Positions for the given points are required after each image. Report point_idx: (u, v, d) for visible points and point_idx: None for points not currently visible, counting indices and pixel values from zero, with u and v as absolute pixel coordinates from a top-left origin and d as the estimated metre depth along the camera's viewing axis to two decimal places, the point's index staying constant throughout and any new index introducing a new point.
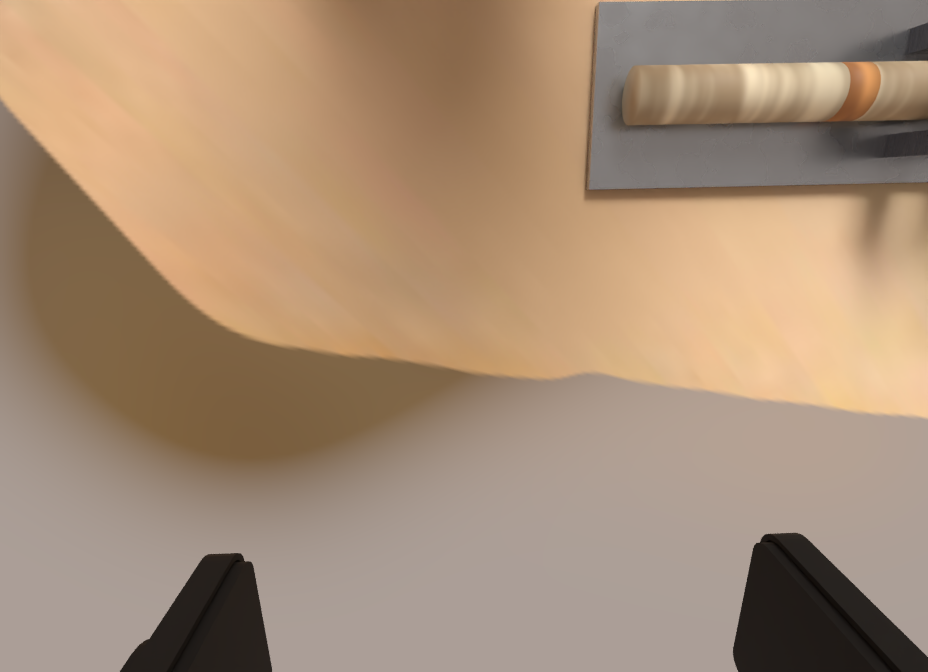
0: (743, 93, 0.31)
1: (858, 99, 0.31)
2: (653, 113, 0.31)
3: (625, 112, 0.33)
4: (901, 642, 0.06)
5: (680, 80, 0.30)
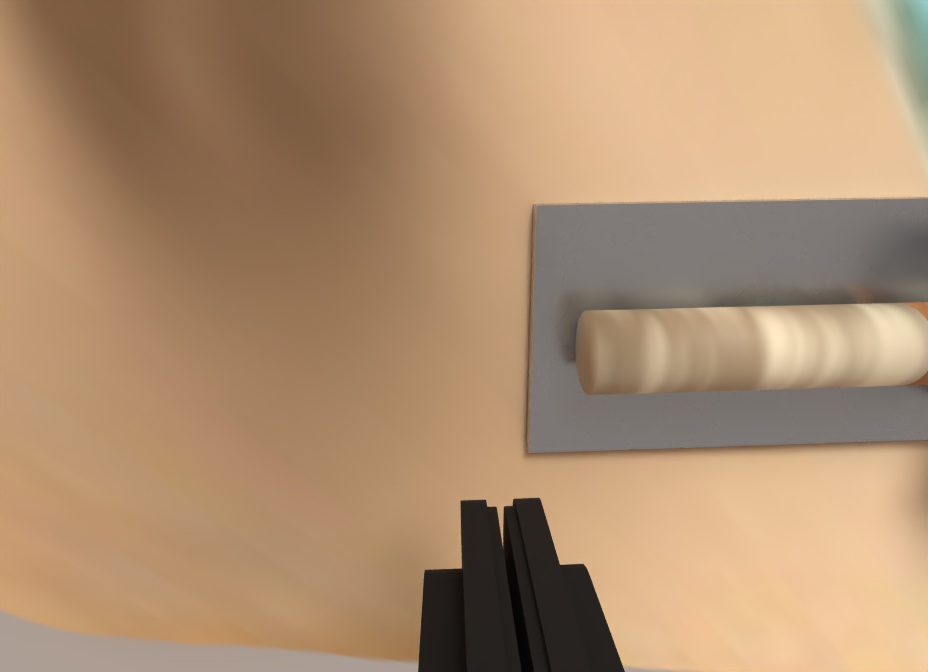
0: (762, 370, 0.19)
1: None
2: (619, 391, 0.20)
3: (579, 363, 0.22)
4: (556, 582, 0.07)
5: (662, 352, 0.19)
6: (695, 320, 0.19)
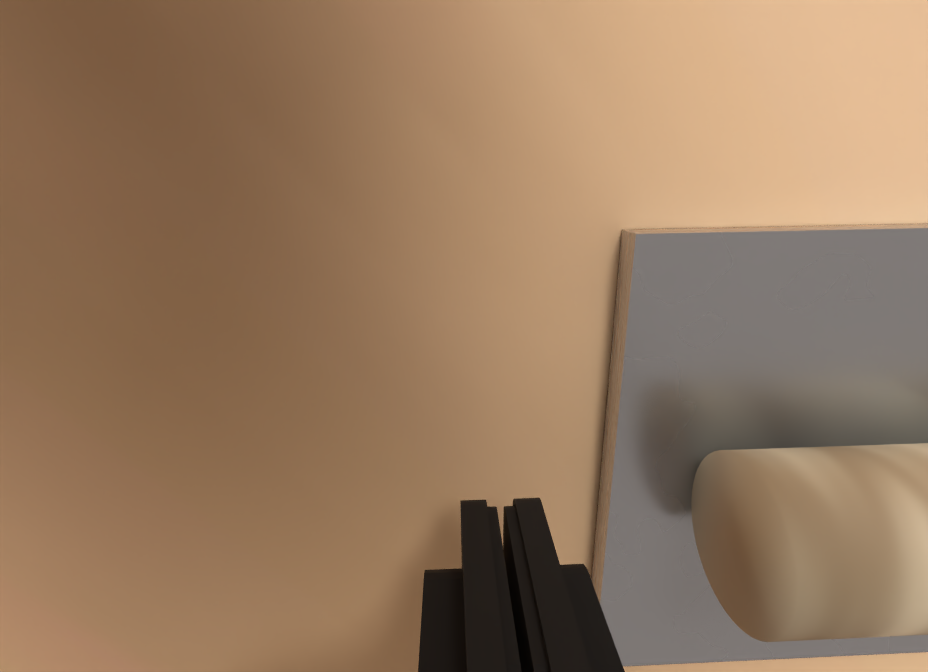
0: None
1: None
2: None
3: (705, 539, 0.11)
4: (556, 581, 0.07)
5: None
6: None
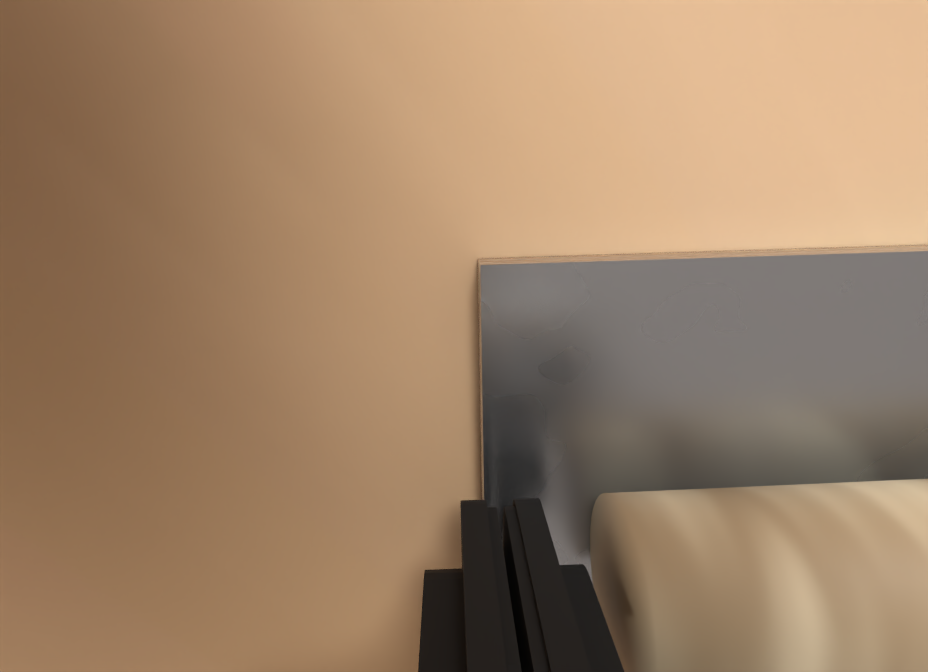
0: None
1: None
2: None
3: (599, 589, 0.10)
4: (556, 582, 0.07)
5: (814, 643, 0.07)
6: (884, 546, 0.08)
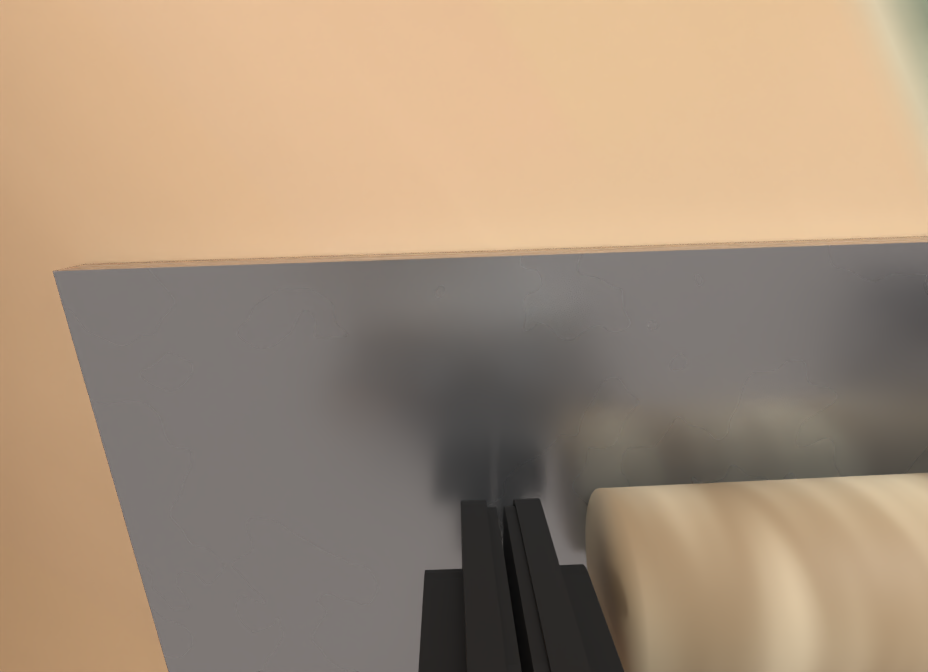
0: None
1: None
2: None
3: (594, 582, 0.10)
4: (556, 581, 0.07)
5: (804, 635, 0.08)
6: (874, 540, 0.08)
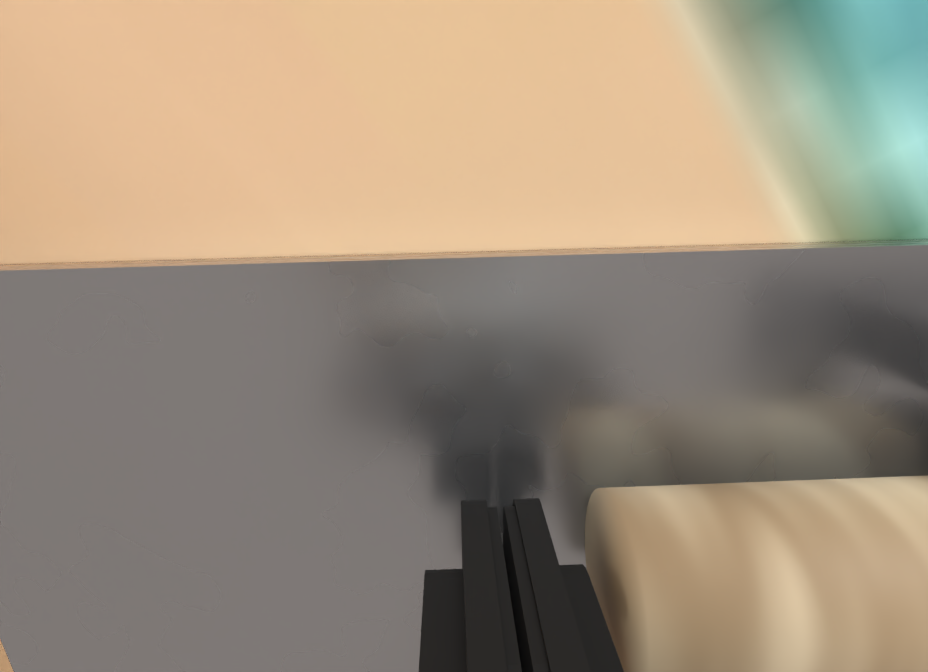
0: None
1: None
2: None
3: (593, 582, 0.10)
4: (555, 582, 0.07)
5: (804, 637, 0.08)
6: (874, 542, 0.08)
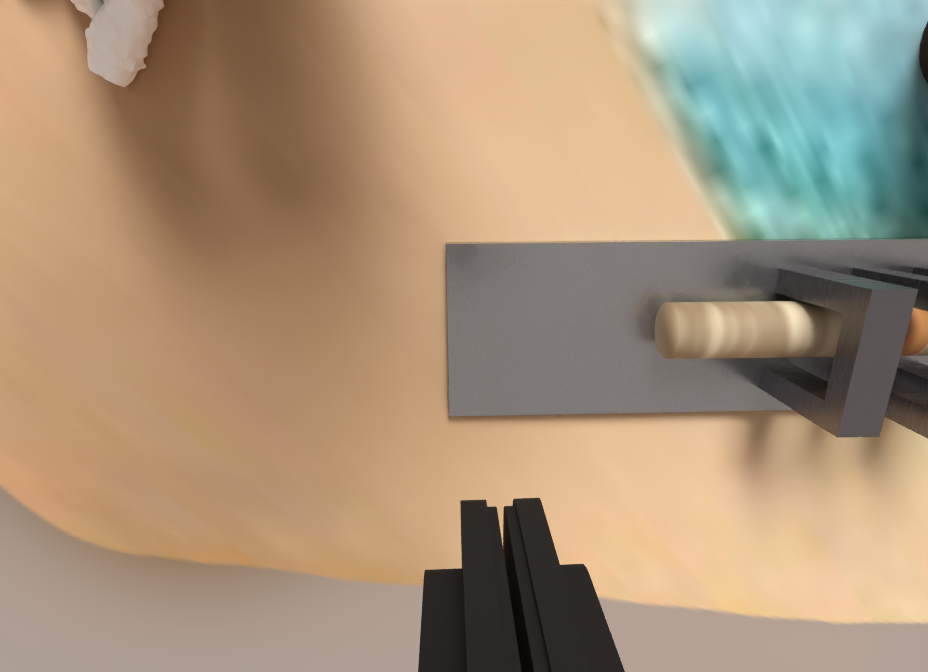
0: (788, 330, 0.29)
1: (912, 336, 0.29)
2: (694, 348, 0.29)
3: (660, 345, 0.31)
4: (556, 582, 0.07)
5: (718, 317, 0.29)
6: (735, 303, 0.30)
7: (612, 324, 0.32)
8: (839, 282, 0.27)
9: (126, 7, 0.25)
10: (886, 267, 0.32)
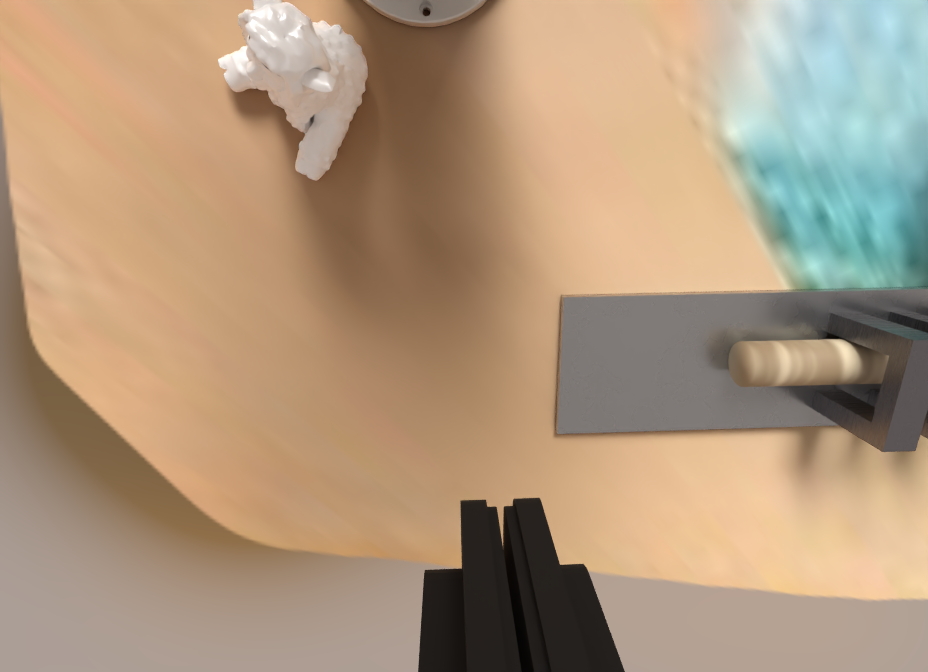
0: (841, 363, 0.36)
1: None
2: (767, 378, 0.36)
3: (735, 375, 0.39)
4: (556, 582, 0.07)
5: (786, 353, 0.36)
6: (797, 341, 0.37)
7: (694, 358, 0.40)
8: (885, 331, 0.34)
9: (333, 126, 0.32)
10: (917, 311, 0.39)
